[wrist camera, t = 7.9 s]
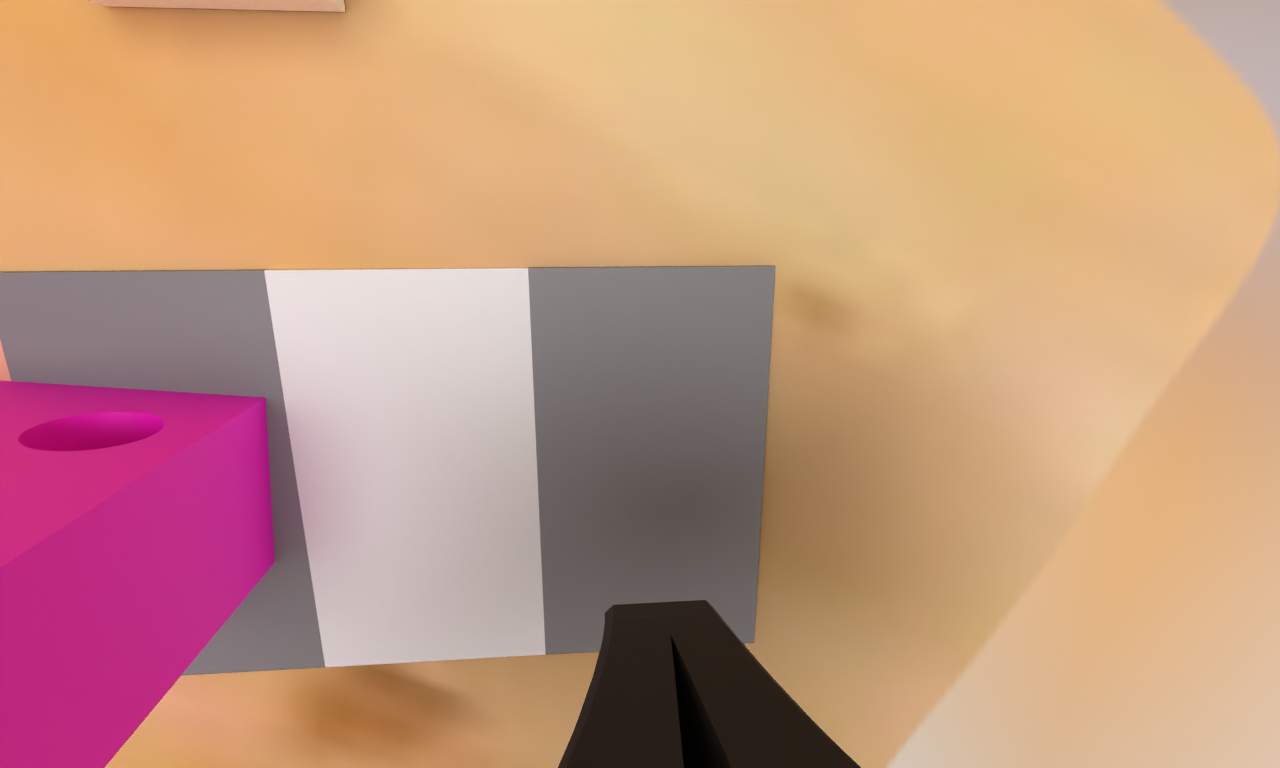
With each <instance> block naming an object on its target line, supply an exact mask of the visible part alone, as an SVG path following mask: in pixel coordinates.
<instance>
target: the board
mask: <svg viewBox="0 0 1280 768" xmlns="http://www.w3.org/2000/svg"><path fill="white" fill-rule="evenodd" d="M774 284H775V266H657V267H534V268H410V269H287V270H163V271H40V272H0V380H2V381H18V382H33V383H49V384H64V385H80V386H95V387H111V388H127V389H142V390H158V391H173V392H189V393H205V394H220V395H236V396H251V397H266V413H267V431H268V449H269V467H270V485H271V502H272V520H273V538H274V556H275V563H274V564H273V565H272V567H271V568H270V569H269V570H268V571H267V573H266V574H265V575H264V576H263V577H262V579H261V580H260V581H259V582H258V583H257V585H256V586H255V587H254V588H253V589H252V591H251V592H250V593H249V594H248V595H247V597H246V598H245V599H244V600H243V601H242V603H241V604H240V605H239V606H238V608H237V609H236V610H235V611H234V612H233V614H232V615H231V616H230V617H229V618H228V620H227V621H226V622H225V623H224V624H223V626H222V627H221V628H220V629H219V630H218V632H217V633H216V634H215V635H214V636H213V638H212V639H211V640H210V641H209V642H208V644H207V645H206V646H205V647H204V648H203V650H202V651H201V652H200V653H199V654H198V656H197V657H196V658H195V659H194V660H193V662H192V663H191V664H190V665H189V666H188V668H187V669H186V670H185V671H184V672H183V674H182V675H198V674H215V673H233V672H250V671H268V670H285V669H302V668H320V667H337V666H355V665H372V664H390V663H407V662H425V661H442V660H460V659H477V658H495V657H512V656H530V655H547V654H565V653H582V652H600V648H601V644H602V639H603V633H604V625H605V612H606V611H607V610H608V609H609V608H610V607H611V606H613V605H619V604H637V603H656V602H674V601H693V600H706V601H707V602H708V603H709V604H710V605H711V606H713V607H714V609H715V610H716V611H717V612H718V614H719V615H720V616H721V617H722V619H723V620H724V621H725V622H726V624H727V625H728V626H729V627H730V629H731V630H732V631H733V632H734V633H735V635H736V636H737V637H738V638H739V639H740V641H741V642H742V643H754V636H755V619H756V601H757V583H758V566H759V548H760V531H761V513H762V495H763V478H764V460H765V442H766V425H767V407H768V389H769V372H770V354H771V336H772V319H773V301H774Z"/></svg>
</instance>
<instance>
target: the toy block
mask: <svg viewBox="0 0 1280 768" xmlns="http://www.w3.org/2000/svg"><path fill="white" fill-rule="evenodd" d="M274 563H275V556H274V538H273V520H272V502H271V485H270V467H269V449H268V431H267V413H266V397H251V396H236V395H220V394H205V393H189V392H173V391H158V390H142V389H127V388H111V387H95V386H80V385H64V384H49V383H33V382H18V381H2V380H0V768H104V767H105V766H106V765H107V764H108V763H109V761H110V760H111V759H112V758H113V757H114V755H115V754H116V753H117V752H118V751H119V749H120V748H121V747H122V746H123V745H124V743H125V742H126V741H127V740H128V739H129V737H130V736H131V735H132V734H133V733H134V731H135V730H136V729H137V728H138V727H139V725H140V724H141V723H142V722H143V721H144V719H145V718H146V717H147V716H148V715H149V713H150V712H151V711H152V710H153V709H154V707H155V706H156V705H157V704H158V702H159V701H160V700H161V699H162V698H163V696H164V695H165V694H166V693H167V692H168V690H169V689H170V688H171V687H172V686H173V684H174V683H175V682H176V681H177V680H178V678H179V677H180V676H181V675H182V674H183V672H184V671H185V670H186V669H187V668H188V666H189V665H190V664H191V663H192V662H193V660H194V659H195V658H196V657H197V656H198V654H199V653H200V652H201V651H202V650H203V648H204V647H205V646H206V645H207V644H208V642H209V641H210V640H211V639H212V638H213V636H214V635H215V634H216V633H217V632H218V630H219V629H220V628H221V627H222V626H223V624H224V623H225V622H226V621H227V620H228V618H229V617H230V616H231V615H232V614H233V612H234V611H235V610H236V609H237V608H238V606H239V605H240V604H241V603H242V601H243V600H244V599H245V598H246V597H247V595H248V594H249V593H250V592H251V591H252V589H253V588H254V587H255V586H256V585H257V583H258V582H259V581H260V580H261V579H262V577H263V576H264V575H265V574H266V573H267V571H268V570H269V569H270V568H271V567H272V565H273V564H274Z"/></svg>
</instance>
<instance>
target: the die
mask: <svg viewBox="0 0 1280 768" xmlns="http://www.w3.org/2000/svg"><path fill="white" fill-rule="evenodd" d="M90 1H92V2H95V3H97V4H100V5H102V6H111V7H154V8H196V9H238V10H280V11H323V12H345V4H344V0H90Z"/></svg>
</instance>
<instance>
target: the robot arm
mask: <svg viewBox="0 0 1280 768" xmlns="http://www.w3.org/2000/svg"><path fill="white" fill-rule="evenodd" d="M558 768H861V767H860V766H859V765H858V764H857V763H856V762H854V761H853V760H852V759H851V758H850V757H849V756H848V755H847V754H846V753H845V752H844V751H843V750H842V749H841V748H840V747H839V746H838V745H837V744H836V743H835V742H834V741H833V740H832V739H831V738H830V737H829V736H828V735H827V734H826V733H825V732H824V731H823V730H822V729H821V728H820V727H819V726H818V725H817V724H816V723H815V722H814V721H813V720H812V719H811V718H810V717H809V716H808V715H807V714H806V713H805V712H804V711H803V710H802V709H801V708H800V707H799V705H798V704H797V703H796V702H795V701H794V700H793V699H792V698H791V697H790V696H789V695H788V694H787V693H786V692H785V691H784V689H783V688H782V687H781V686H780V685H779V684H778V683H777V682H776V681H775V680H774V679H773V678H772V676H771V675H770V674H769V673H768V672H767V671H766V670H765V669H764V667H763V666H762V665H761V664H760V663H759V662H758V661H757V659H756V658H755V657H754V656H753V655H752V654H751V652H750V651H749V650H748V649H747V648H746V647H745V645H744V644H743V643H742V642H741V641H740V639H739V638H738V637H737V636H736V635H735V633H734V632H733V631H732V630H731V629H730V627H729V626H728V625H727V624H726V622H725V621H724V620H723V619H722V617H721V616H720V615H719V614H718V612H717V611H716V610H715V609H714V607H713V606H711V605H710V604H709V603H708V602H707V601H706V600H693V601H674V602H656V603H637V604H619V605H613V606H611V607H610V608H609V609H608V610H607V611H606V612H605V625H604V633H603V639H602V644H601V648H600V653H599V657H598V660H597V664H596V668H595V671H594V675H593V678H592V681H591V684H590V687H589V690H588V693H587V695H586V698H585V701H584V704H583V707H582V710H581V713H580V716H579V719H578V721H577V724H576V726H575V729H574V732H573V734H572V736H571V739H570V741H569V743H568V746H567V748H566V750H565V753H564V755H563V757H562V760H561V762H560V764H559V767H558Z"/></svg>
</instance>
